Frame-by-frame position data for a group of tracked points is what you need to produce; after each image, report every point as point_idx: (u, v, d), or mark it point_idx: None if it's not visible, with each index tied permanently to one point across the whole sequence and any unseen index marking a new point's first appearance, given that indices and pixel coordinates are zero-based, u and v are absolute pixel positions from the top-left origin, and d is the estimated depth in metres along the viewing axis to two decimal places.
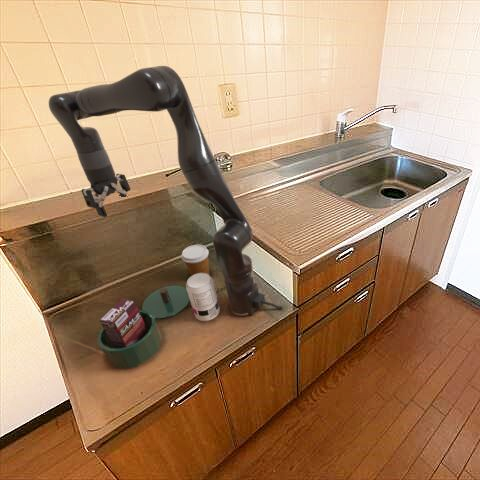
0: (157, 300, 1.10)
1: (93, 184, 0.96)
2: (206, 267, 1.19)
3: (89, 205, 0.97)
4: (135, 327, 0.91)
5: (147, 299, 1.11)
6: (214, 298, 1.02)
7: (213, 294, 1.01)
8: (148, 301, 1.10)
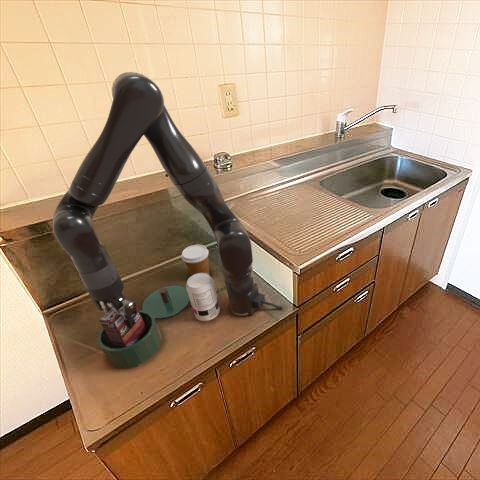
0: (157, 300, 1.10)
1: None
2: (206, 267, 1.19)
3: None
4: (135, 327, 0.91)
5: (147, 299, 1.11)
6: (214, 298, 1.02)
7: (213, 294, 1.01)
8: (148, 301, 1.10)
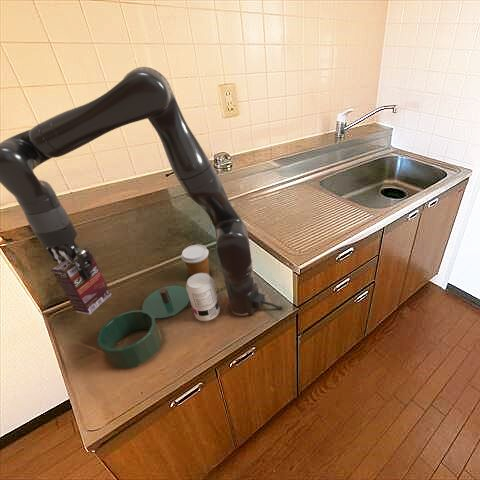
0: (157, 300, 1.10)
1: None
2: (206, 267, 1.19)
3: None
4: (92, 281, 0.88)
5: (147, 299, 1.11)
6: (214, 298, 1.02)
7: (213, 294, 1.01)
8: (148, 301, 1.10)
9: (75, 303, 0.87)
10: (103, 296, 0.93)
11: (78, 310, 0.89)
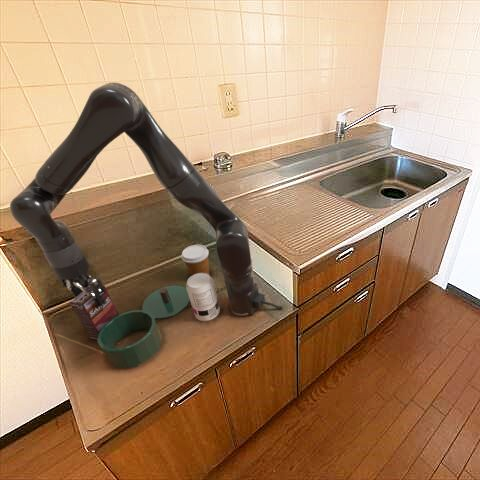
0: (157, 300, 1.10)
1: None
2: (206, 267, 1.19)
3: None
4: (105, 310, 0.97)
5: (147, 299, 1.11)
6: (214, 298, 1.02)
7: (213, 294, 1.01)
8: (148, 301, 1.10)
9: (89, 331, 0.96)
10: None
11: (92, 337, 0.97)
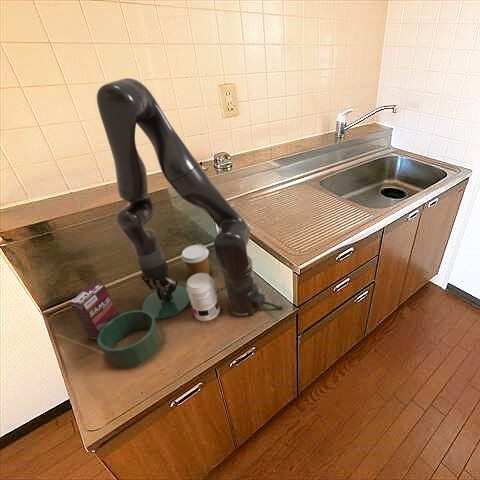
0: (157, 300, 1.10)
1: None
2: (206, 267, 1.19)
3: None
4: (105, 310, 0.97)
5: (147, 299, 1.11)
6: (214, 298, 1.02)
7: (213, 294, 1.01)
8: (148, 301, 1.10)
9: (89, 331, 0.96)
10: None
11: (92, 337, 0.97)
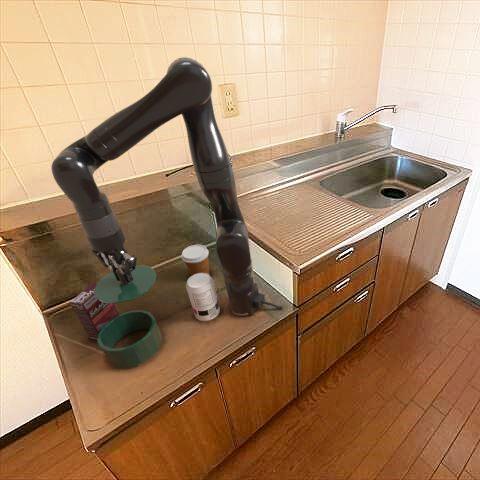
0: (114, 281, 0.90)
1: None
2: (206, 267, 1.19)
3: None
4: (105, 310, 0.97)
5: (102, 280, 0.90)
6: (214, 298, 1.02)
7: (213, 294, 1.01)
8: (103, 282, 0.89)
9: (89, 331, 0.96)
10: None
11: (92, 337, 0.97)
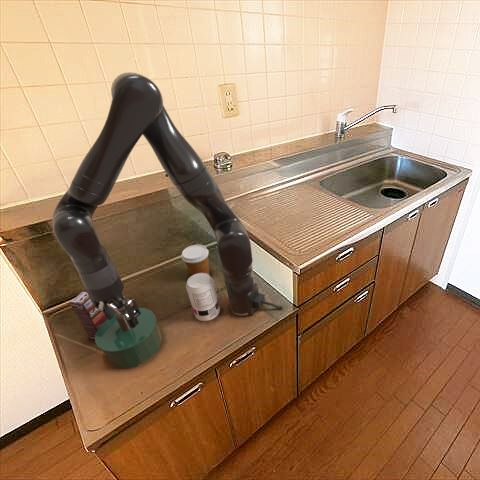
0: (115, 327, 0.91)
1: None
2: (206, 267, 1.19)
3: None
4: None
5: (103, 326, 0.91)
6: (214, 298, 1.02)
7: (213, 294, 1.01)
8: (103, 328, 0.91)
9: (89, 331, 0.96)
10: None
11: (92, 337, 0.97)
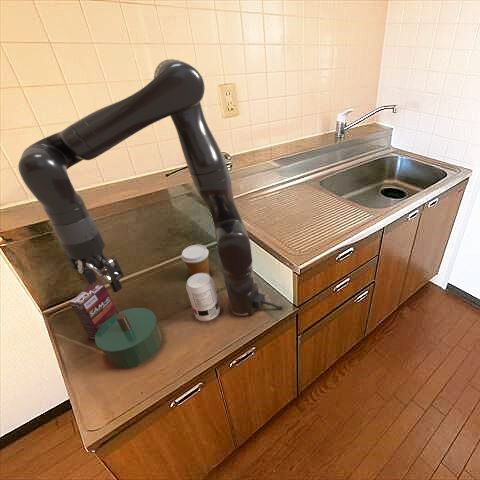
0: (115, 327, 0.91)
1: None
2: (206, 267, 1.19)
3: None
4: (105, 310, 0.97)
5: (103, 326, 0.91)
6: (214, 298, 1.02)
7: (213, 294, 1.01)
8: (103, 328, 0.91)
9: (89, 331, 0.96)
10: None
11: (92, 337, 0.97)
